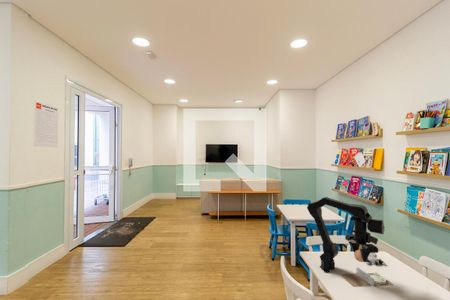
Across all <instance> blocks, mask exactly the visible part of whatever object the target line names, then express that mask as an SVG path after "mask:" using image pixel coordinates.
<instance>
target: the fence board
mask: <svg viewBox="0 0 450 300" xmlns="http://www.w3.org/2000/svg"><path fill="white" fill-rule="evenodd" d="M367 273H368V272H366V271H364V270H363V269H362V268H360V267H358V266H356V271H355V273H339V275H340V276H341V277H342V278H343V279H344V280H345V281H347V283H348V284H349V285H351V287H354V288H358V287H377V286H378V287H379V286H382V287H383V286H394V285H395V284H394V283H393V282H391V281H389V279H386V284H377V283H374V278H372V277H371V276H370V275H368V274H367ZM375 273H376V274H379V273H378V272H375Z"/></svg>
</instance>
